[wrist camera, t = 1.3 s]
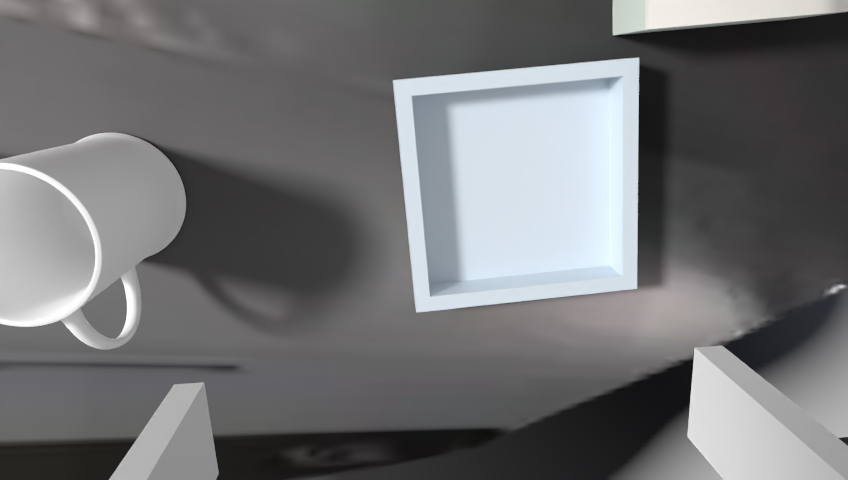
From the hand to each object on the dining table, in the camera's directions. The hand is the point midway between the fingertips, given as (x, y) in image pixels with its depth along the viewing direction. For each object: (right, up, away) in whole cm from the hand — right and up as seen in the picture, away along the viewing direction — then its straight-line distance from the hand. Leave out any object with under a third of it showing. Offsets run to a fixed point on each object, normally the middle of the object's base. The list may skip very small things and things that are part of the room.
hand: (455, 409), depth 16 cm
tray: (+5, +8, +25) cm, 27 cm away
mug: (-21, +6, +24) cm, 32 cm away
